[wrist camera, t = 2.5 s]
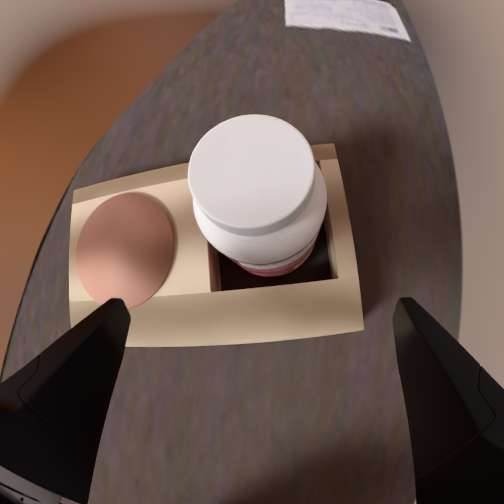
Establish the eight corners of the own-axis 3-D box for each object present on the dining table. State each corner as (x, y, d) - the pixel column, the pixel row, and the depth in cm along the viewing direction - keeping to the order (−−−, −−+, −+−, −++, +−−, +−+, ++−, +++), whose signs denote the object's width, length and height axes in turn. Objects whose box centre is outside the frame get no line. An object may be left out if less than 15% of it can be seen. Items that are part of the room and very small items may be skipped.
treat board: (353, 326, 19) (365, 330, 16) (95, 341, 21) (70, 344, 18) (329, 163, 21) (334, 140, 18) (93, 201, 24) (71, 189, 20)
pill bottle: (224, 199, 22) (168, 113, 11) (307, 187, 21) (317, 88, 11) (231, 283, 21) (169, 260, 10) (320, 273, 20) (352, 236, 9)
